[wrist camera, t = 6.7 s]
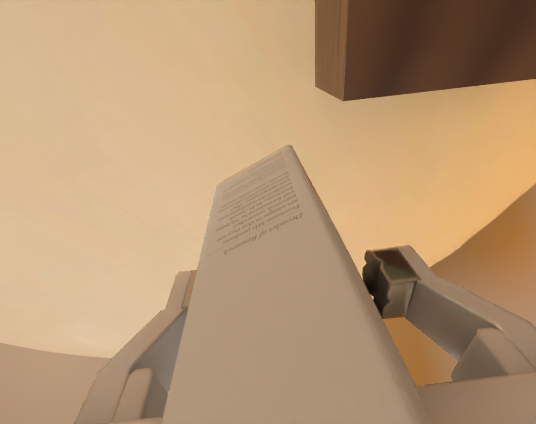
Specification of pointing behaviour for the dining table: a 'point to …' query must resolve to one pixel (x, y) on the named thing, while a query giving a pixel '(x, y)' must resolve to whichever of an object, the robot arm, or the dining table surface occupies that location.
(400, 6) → the shelf
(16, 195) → the dining table surface
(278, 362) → the cosmetic box
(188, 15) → the dining table surface
